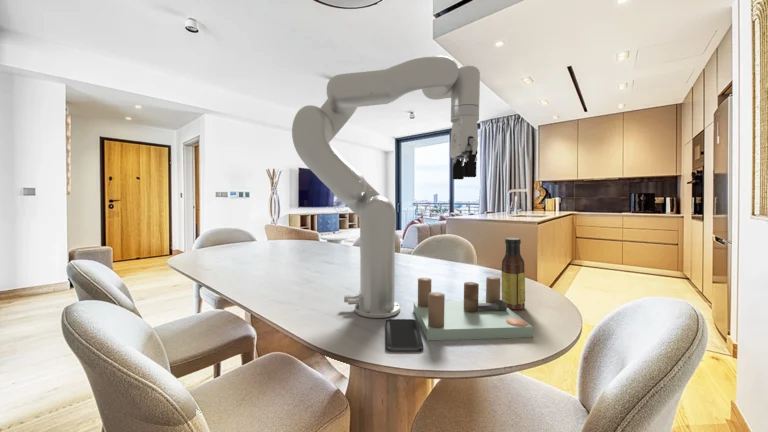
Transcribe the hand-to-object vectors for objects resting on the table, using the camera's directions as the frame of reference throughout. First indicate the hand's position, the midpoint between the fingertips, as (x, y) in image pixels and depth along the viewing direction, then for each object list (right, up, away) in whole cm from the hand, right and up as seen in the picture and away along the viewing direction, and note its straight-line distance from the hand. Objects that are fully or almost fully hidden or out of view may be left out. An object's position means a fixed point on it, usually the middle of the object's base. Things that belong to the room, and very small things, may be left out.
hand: (463, 178), depth 85 cm
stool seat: (-1, -37, -8) cm, 38 cm away
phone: (-18, -38, -15) cm, 45 cm away
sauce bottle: (+15, -37, +3) cm, 40 cm away
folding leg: (+4, -34, -6) cm, 35 cm away
